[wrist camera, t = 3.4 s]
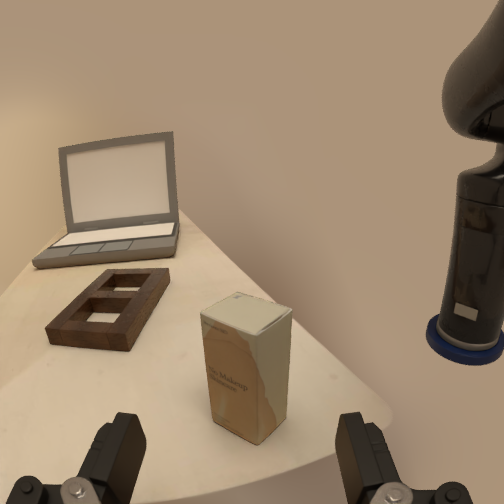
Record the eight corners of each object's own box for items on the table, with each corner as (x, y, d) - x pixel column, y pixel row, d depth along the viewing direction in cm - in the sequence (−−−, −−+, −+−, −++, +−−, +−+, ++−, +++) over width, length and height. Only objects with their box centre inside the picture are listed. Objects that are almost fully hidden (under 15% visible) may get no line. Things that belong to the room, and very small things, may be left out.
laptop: (34, 270, 63) (16, 148, 55) (70, 240, 88) (59, 148, 80) (175, 257, 69) (164, 122, 60) (180, 229, 93) (173, 131, 85)
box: (211, 420, 25) (194, 309, 22) (242, 395, 28) (235, 288, 25) (260, 448, 22) (256, 333, 19) (290, 417, 25) (294, 305, 22)
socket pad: (170, 281, 56) (168, 267, 56) (129, 351, 35) (125, 333, 35) (109, 281, 56) (106, 269, 56) (50, 344, 36) (44, 327, 35)
